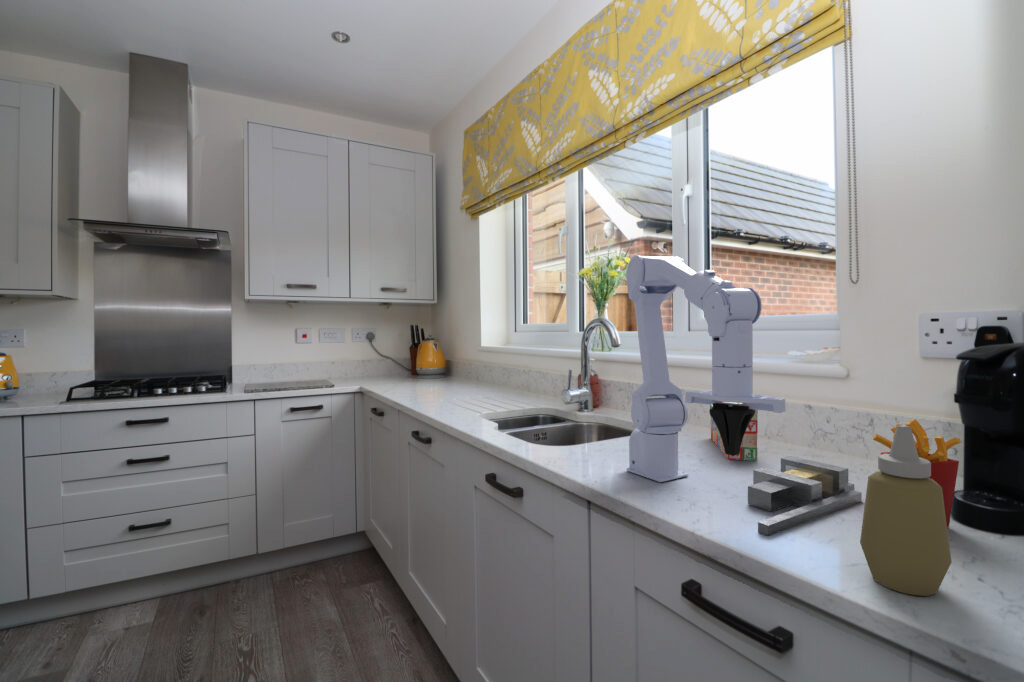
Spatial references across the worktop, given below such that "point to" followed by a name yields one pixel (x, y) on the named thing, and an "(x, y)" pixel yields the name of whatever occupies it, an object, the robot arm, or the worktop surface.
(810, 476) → the brass block
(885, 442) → the french fries
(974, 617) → the worktop surface
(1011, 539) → the worktop surface
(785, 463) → the vise
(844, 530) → the worktop surface
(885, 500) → the squeeze bottle
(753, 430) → the stack of blocks
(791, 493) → the sliding jaw
